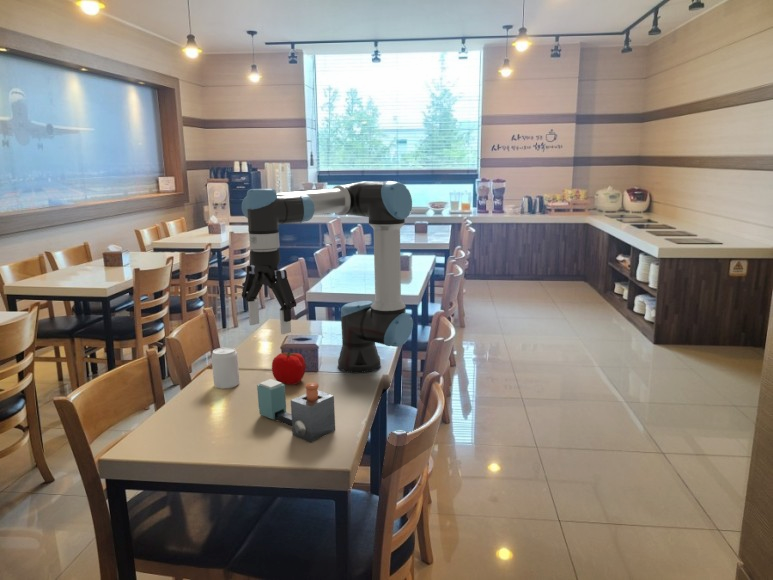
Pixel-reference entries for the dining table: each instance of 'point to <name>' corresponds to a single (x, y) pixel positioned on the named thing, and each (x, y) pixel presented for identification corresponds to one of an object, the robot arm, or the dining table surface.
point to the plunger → (312, 391)
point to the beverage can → (225, 367)
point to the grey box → (313, 416)
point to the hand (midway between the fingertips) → (269, 328)
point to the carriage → (271, 398)
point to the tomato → (288, 368)
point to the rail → (283, 417)
